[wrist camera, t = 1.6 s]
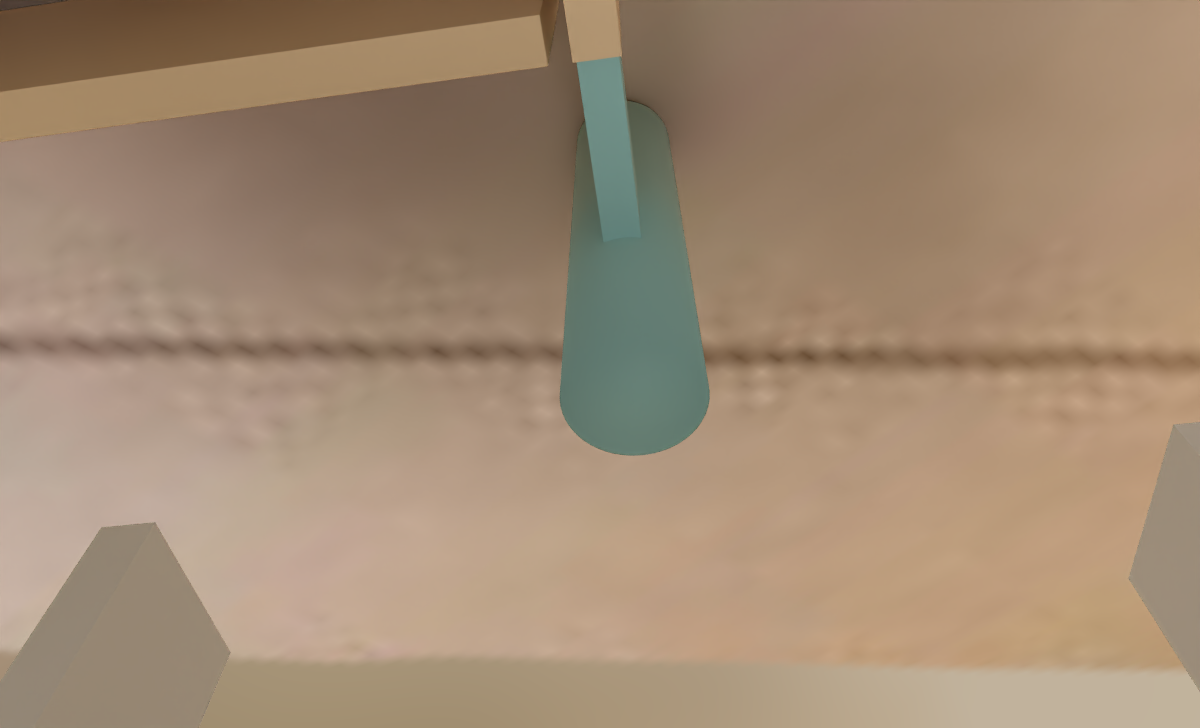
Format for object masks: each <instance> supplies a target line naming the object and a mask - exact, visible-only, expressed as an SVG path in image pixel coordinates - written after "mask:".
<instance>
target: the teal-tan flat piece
mask: <svg viewBox="0 0 1200 728" xmlns="http://www.w3.org/2000/svg"><path fill="white" fill-rule="evenodd" d="M563 4H564V10H565V17H566V23H567V30H568V36H569V43H570V49H571V56H572V63H576V62H577V69H578V76H579V82H580V89H581V96H582V102H583V109H584V116H585V121H584V123H583V125H582V127H581V129H580V131H579V134H578V139H577V151H576V166H575V181H574V195H573V210H572V225H571V239H570V254H569V268H568V283H567V298H566V312H565V327H564V342H563V356H562V371H561V385H560V405H561V409H562V413H563V415H564V418H565V420H566V422H567V423H568V425H569V426H570V428H571V429H572V430H573V431H574V432H575V433H576V434H577V435H578V436H579V437H580V438H581V439H583V440H584V441H586V442H587V443H589V444H590V445H592V446H594V447H596V448H598V449H601V450H604V451H606V452H610V453H614V454H620V455H633V456H634V455H646V454H652V453H656V452H660V451H663V450H666V449H669V448H671V447H673V446H675V445H677V444H678V443H680V442H682V441H683V440H685V439H686V438H687V437H688V436H690V435H691V434H692V433H693V432H694V431H695V430H696V429H697V427H698V426H699V425H700V423H701V422H702V420H703V418H704V416H705V414H706V411H707V408H708V404H709V385H708V379H707V373H706V366H705V360H704V354H703V348H702V342H701V335H700V329H699V323H698V317H697V311H696V304H695V298H694V292H693V286H692V280H691V273H690V267H689V261H688V255H687V248H686V242H685V236H684V230H683V224H682V217H681V211H680V205H679V199H678V193H677V186H676V180H675V174H674V168H673V162H672V155H671V149H670V143H669V137H668V133H667V129H666V127H665V125H664V123H663V122H662V120H661V119H660V117H659V116H658V115H657V114H656V113H655V112H654V111H652V110H651V109H650V108H648V107H646V106H644V105H642V104H639V103H636V102H632V101H627V100H626V92H625V84H624V75H623V67H622V59H621V56H622V46H621V28H620V10H619V0H563Z"/></svg>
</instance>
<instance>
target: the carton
mask: <svg viewBox="0 0 1200 728" xmlns="http://www.w3.org/2000/svg"><path fill="white" fill-rule="evenodd" d="M558 6H559V0H70V1H63V2H57V3H50V4H43V5H37V6H30V7H23V8H17V9H10V10H4V11H0V142H4V141H11V140H18V139H25V138H33V137H40V136H47V135H54V134H62V133H69V132H76V131H83V130H91V129H98V128H105V127H112V126H120V125H127V124H134V123H141V122H149V121H156V120H163V119H170V118H178V117H185V116H192V115H199V114H207V113H214V112H221V111H228V110H236V109H243V108H250V107H257V106H265V105H272V104H279V103H286V102H294V101H301V100H308V99H315V98H322V97H330V96H337V95H344V94H351V93H359V92H366V91H373V90H380V89H388V88H395V87H402V86H409V85H417V84H424V83H431V82H438V81H446V80H453V79H460V78H467V77H475V76H482V75H489V74H496V73H504V72H511V71H518V70H525V69H533V68H540V67H547V66H548V63H549V58H550V52H551V46H552V40H553V35H554V29H555V23H556V17H557V12H558Z"/></svg>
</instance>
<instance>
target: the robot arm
mask: <svg viewBox="0 0 1200 728" xmlns="http://www.w3.org/2000/svg"><path fill="white" fill-rule="evenodd" d="M1129 580H1130V582H1131V583H1132V585H1133V586H1134V588H1135V589H1136V591H1137V593H1138V594H1139V596H1140V597H1141V599H1142V601H1143V602H1144V604H1145V605H1146V607H1147V609H1148V610H1149V612H1150V613H1151V615H1152V616H1153V618H1154V620H1155V621H1156V623H1157V624H1158V626H1159V628H1160V629H1161V631H1162V632H1163V634H1164V636H1165V637H1166V639H1167V640H1168V642H1169V644H1170V645H1171V647H1172V648H1173V650H1174V651H1175V653H1176V655H1177V656H1178V658H1179V659H1180V661H1181V663H1182V664H1183V666H1184V667H1185V669H1186V671H1187V672H1188V674H1189V675H1190V677H1191V679H1192V680H1193V681H1194V683H1195V685H1196V686H1197V688H1198V690H1199V691H1200V422H1196V423H1186V424H1175V425H1173V428H1172V431H1171V435H1170V438H1169V441H1168V445H1167V448H1166V452H1165V455H1164V459H1163V462H1162V465H1161V469H1160V472H1159V476H1158V479H1157V483H1156V486H1155V490H1154V493H1153V496H1152V500H1151V503H1150V507H1149V510H1148V514H1147V517H1146V521H1145V524H1144V527H1143V531H1142V534H1141V538H1140V541H1139V545H1138V548H1137V551H1136V555H1135V558H1134V562H1133V565H1132V569H1131V572H1130V576H1129ZM230 653H231V652H230V650H229V649H228V647H227V645H226V644H225V642H224V640H223V638H222V637H221V635H220V633H219V632H218V630H217V628H216V626H215V625H214V623H213V621H212V620H211V618H210V616H209V614H208V613H207V611H206V609H205V607H204V606H203V604H202V602H201V601H200V599H199V597H198V595H197V594H196V592H195V590H194V589H193V587H192V585H191V583H190V582H189V580H188V578H187V577H186V575H185V573H184V571H183V570H182V568H181V566H180V564H179V563H178V561H177V559H176V558H175V556H174V554H173V552H172V551H171V549H170V547H169V546H168V544H167V542H166V540H165V539H164V537H163V535H162V533H161V532H160V530H159V528H158V527H157V525H156V523H155V522H154V523H144V524H133V525H123V526H113V527H102V528H101V529H100V531H99V532H98V534H97V535H96V537H95V538H94V540H93V541H92V543H91V544H90V546H89V547H88V549H87V550H86V552H85V553H84V555H83V556H82V558H81V559H80V561H79V562H78V564H77V565H76V567H75V568H74V570H73V572H72V573H71V575H70V576H69V578H68V579H67V581H66V582H65V584H64V585H63V587H62V588H61V590H60V591H59V593H58V594H57V596H56V597H55V599H54V600H53V602H52V603H51V605H50V606H49V608H48V609H47V611H46V612H45V614H44V615H43V617H42V619H41V620H40V622H39V623H38V625H37V626H36V628H35V629H34V631H33V632H32V634H31V635H30V637H29V638H28V640H27V641H26V643H25V644H24V646H23V647H22V649H21V650H20V652H19V653H18V655H17V656H16V658H15V660H14V661H13V662H12V664H11V666H10V667H9V669H8V670H7V672H6V673H5V675H4V676H3V678H2V679H1V681H0V728H199V725H200V723H201V721H202V718H203V716H204V714H205V711H206V709H207V707H208V704H209V702H210V699H211V697H212V695H213V693H214V690H215V688H216V685H217V683H218V681H219V678H220V676H221V674H222V671H223V669H224V667H225V664H226V662H227V660H228V657H229V655H230Z"/></svg>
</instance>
